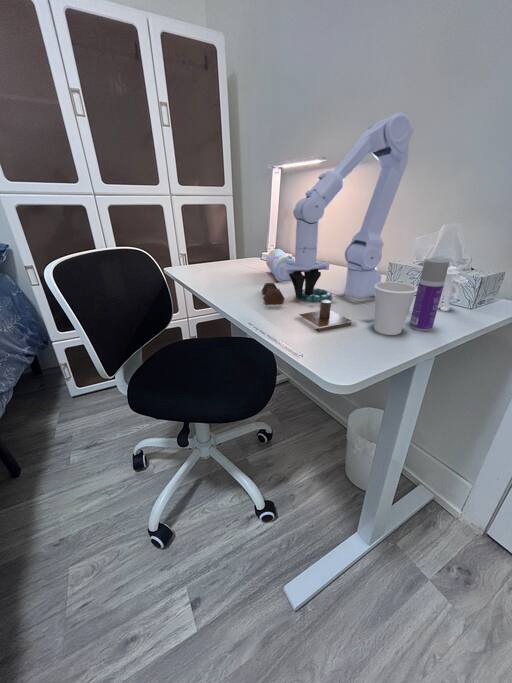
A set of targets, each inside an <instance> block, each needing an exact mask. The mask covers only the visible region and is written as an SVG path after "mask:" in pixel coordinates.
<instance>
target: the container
mask: <svg viewBox="0 0 512 683" xmlns="http://www.w3.org/2000/svg"><path fill="white" fill-rule="evenodd" d="M449 265H450V261H449V260H448V259H444V258H443V259H442V258H425V259H424V262H423V266H422V270H421V274H420V276H419V281H418V284H417V289H418V291H417V292H416V293H415V297H414V303H413V307H412V311H411V315H410V320H409V324H408V326H409V328H410V329H412V330H416V331H419V332H431V331H432V330H433V327H434V324H435V320H436V316H437V312H438V309H439V308H438V305H439V301H440V298H441V294H442V290H443V287H444V282H445V278H446V274H447V270H448V268H449Z"/></svg>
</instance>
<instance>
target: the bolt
mask: <svg viewBox="0 0 512 683" xmlns="http://www.w3.org/2000/svg"><path fill="white" fill-rule="evenodd" d="M261 292H262V293H263V295H264V296H263V298H262V299H263V301H264V304H265V305H266V306H276V305H277V306H279V305H283V304H284V302H285V297H284V295H283V293H282V291H281V290H280V288H278V287H277V285H276V284H275V282H266V283H264V285H263V287H262V289H261Z"/></svg>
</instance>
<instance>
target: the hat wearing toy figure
mask: <svg viewBox="0 0 512 683" xmlns="http://www.w3.org/2000/svg"><path fill="white" fill-rule="evenodd" d="M467 266H468V264H466V263H465V264H461V265H460V264H457V266H454V265H451V266H448V270H447V274H446V278H445V282H444V287H443V290H442V294H441V298H440V301H439V305H438V309H439V310H440V311H443V312H448V311H450V308H451V306H450V305H451V304H450V301H451V300H452V301H458V300H459V298H460V293H461V286H460V285H462V287H463V288H464V287H466V286H467V284H468V282H469V280H468V279H467V276H464V275H460V271H461V270H462V269H465V268H467Z"/></svg>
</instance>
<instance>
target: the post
mask: <svg viewBox="0 0 512 683" xmlns="http://www.w3.org/2000/svg"><path fill="white" fill-rule="evenodd" d="M331 307H332V301H331V300H330V301H329V300H322V301H321V303H320V306H319V310H316V311H310V312H305V313H299V314H298V315H299V316H301V317H302V318H303V319H305V320H307V321H308V322H310V323H312V324H313V325H315V326H316V327H318V328H314V329H315V331H317V332H318V333H320V332H325V331H331V330H335V329H339V328H344V327H350V326H352V320H351V319H349V318H348V317H345V316H343V315H342V314H339V313H337V312H336V311H333V310H331Z"/></svg>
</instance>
